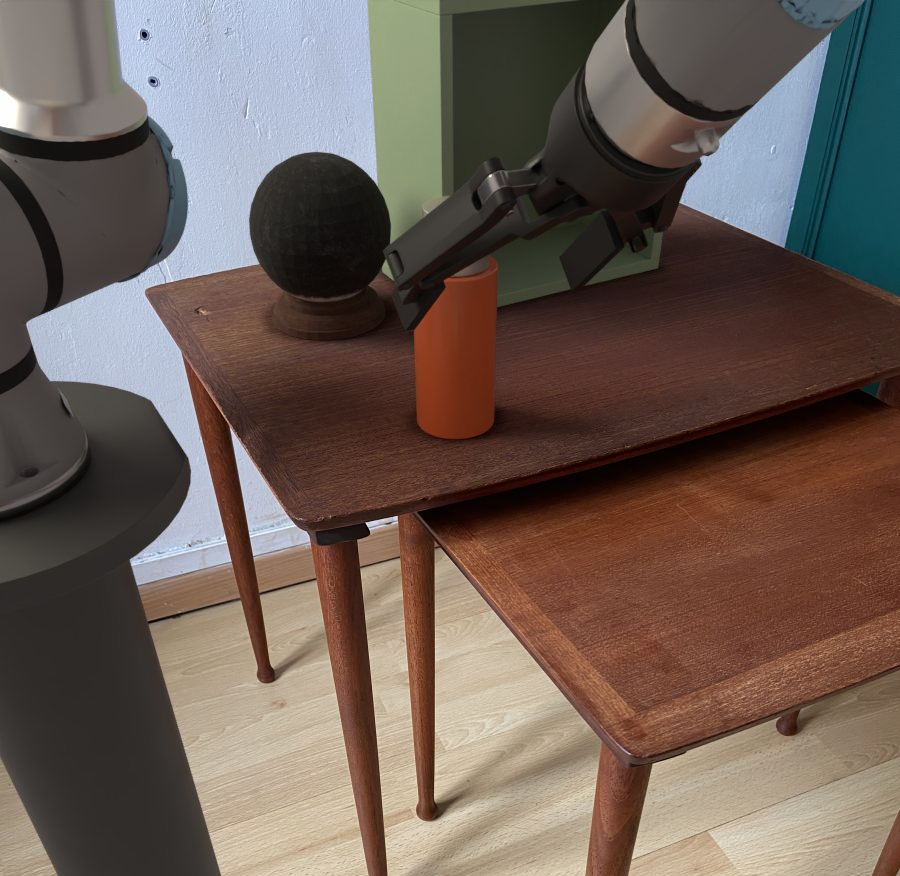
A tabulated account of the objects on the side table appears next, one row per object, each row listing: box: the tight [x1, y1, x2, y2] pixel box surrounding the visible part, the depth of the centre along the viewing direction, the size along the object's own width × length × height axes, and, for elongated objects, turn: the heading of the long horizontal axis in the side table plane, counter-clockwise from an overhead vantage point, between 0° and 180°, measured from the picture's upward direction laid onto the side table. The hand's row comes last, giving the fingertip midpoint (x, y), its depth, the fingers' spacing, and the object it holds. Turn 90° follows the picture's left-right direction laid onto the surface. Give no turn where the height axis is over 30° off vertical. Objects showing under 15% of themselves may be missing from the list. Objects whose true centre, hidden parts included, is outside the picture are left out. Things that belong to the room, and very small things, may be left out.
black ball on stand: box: [248, 151, 391, 341], centre depth 90 cm, size 13×13×15 cm
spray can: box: [413, 196, 498, 440], centre depth 73 cm, size 6×6×17 cm
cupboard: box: [366, 0, 664, 308], centre depth 94 cm, size 14×26×27 cm, turn 119°
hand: (489, 292), depth 67 cm, fingers open, 13 cm apart
